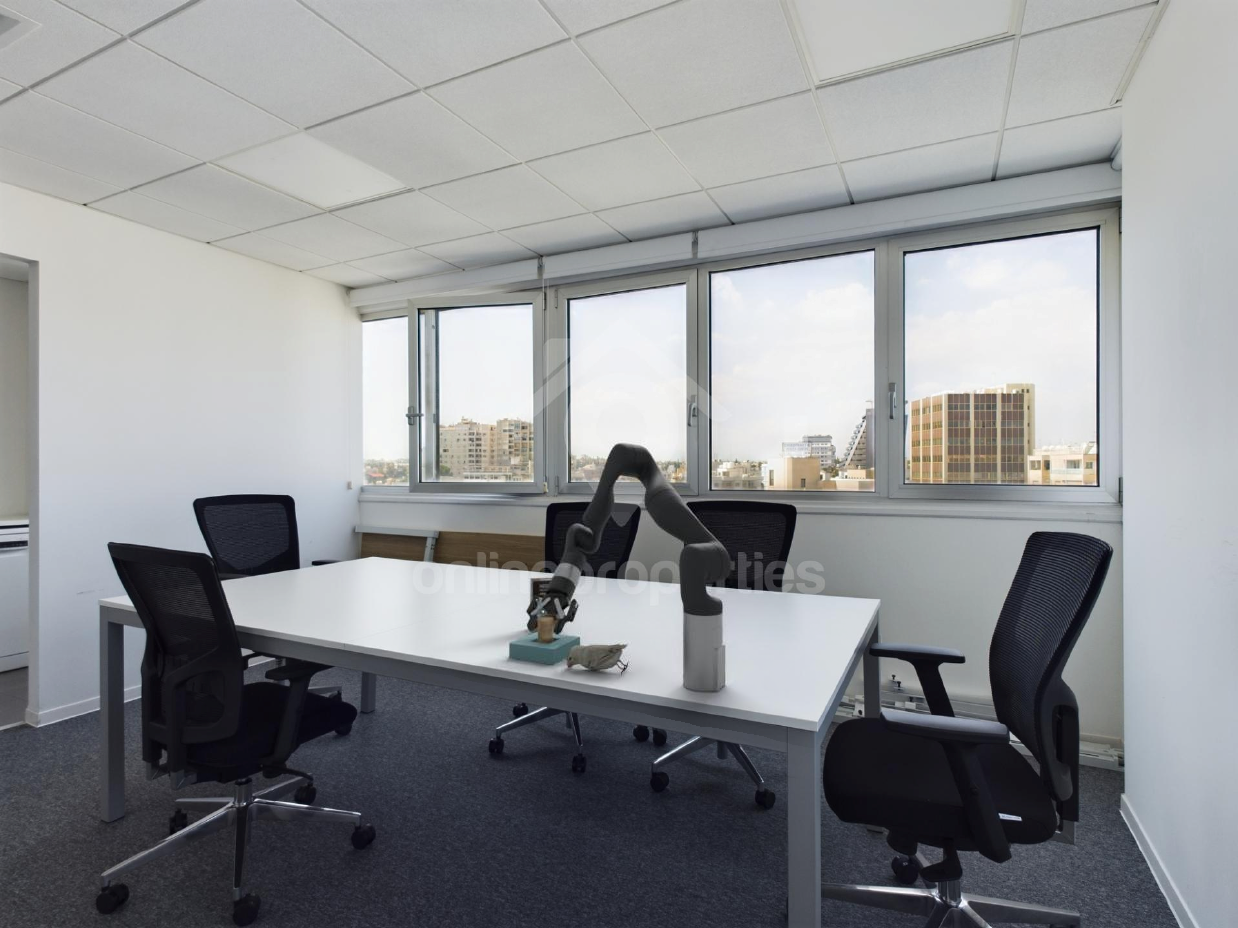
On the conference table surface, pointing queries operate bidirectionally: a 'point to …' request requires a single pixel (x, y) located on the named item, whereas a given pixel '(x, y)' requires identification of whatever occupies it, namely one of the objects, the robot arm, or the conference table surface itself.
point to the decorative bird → (596, 656)
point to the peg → (545, 629)
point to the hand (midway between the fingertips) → (542, 631)
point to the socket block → (542, 648)
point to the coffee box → (541, 596)
